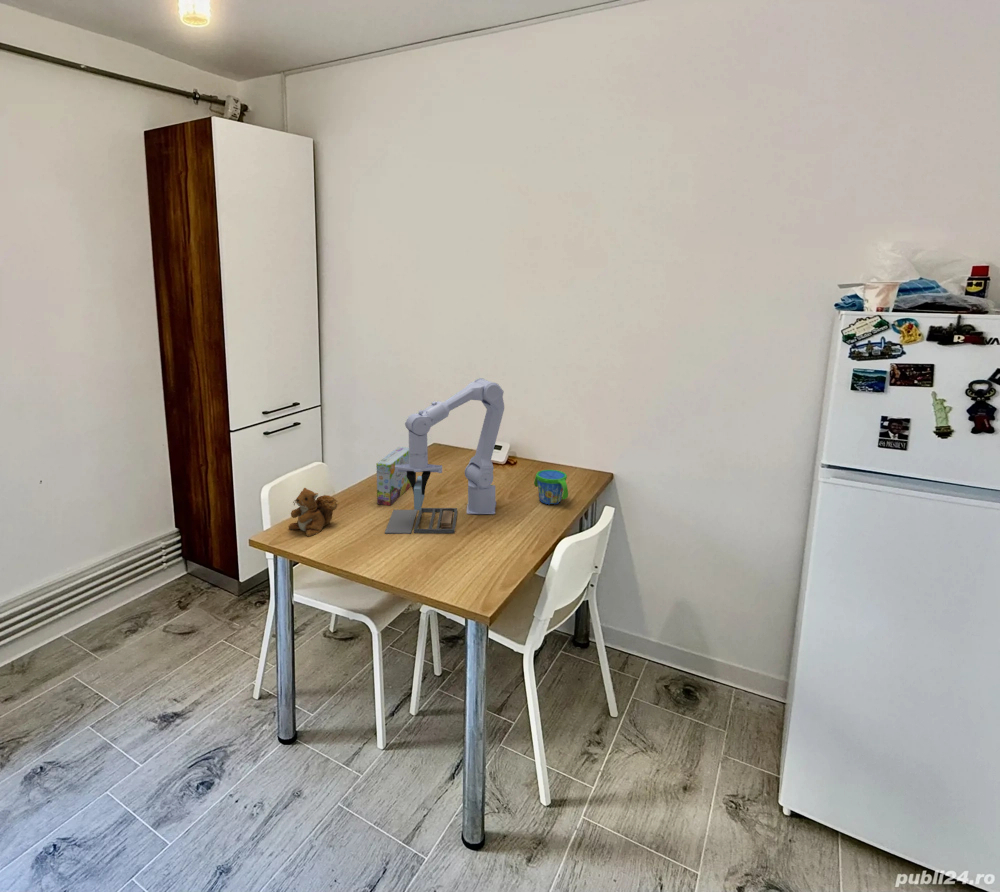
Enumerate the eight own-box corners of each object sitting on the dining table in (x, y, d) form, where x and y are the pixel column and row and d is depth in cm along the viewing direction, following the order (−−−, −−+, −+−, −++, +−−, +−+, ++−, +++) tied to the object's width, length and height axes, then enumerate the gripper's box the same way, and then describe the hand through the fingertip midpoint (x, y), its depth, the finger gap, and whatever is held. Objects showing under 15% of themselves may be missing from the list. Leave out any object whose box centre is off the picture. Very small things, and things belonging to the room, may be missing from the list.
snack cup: (575, 506, 205) (577, 478, 202) (550, 512, 200) (551, 483, 197) (550, 492, 218) (551, 465, 215) (525, 496, 212) (526, 470, 210)
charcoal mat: (417, 510, 199) (417, 509, 199) (410, 533, 181) (410, 532, 181) (393, 510, 199) (393, 509, 198) (384, 533, 181) (384, 532, 181)
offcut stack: (452, 514, 196) (452, 509, 196) (450, 529, 185) (450, 523, 184) (443, 514, 196) (443, 508, 195) (441, 529, 185) (440, 523, 184)
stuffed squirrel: (285, 529, 183) (282, 489, 179) (325, 516, 193) (322, 478, 190) (303, 539, 177) (299, 498, 173) (343, 525, 187) (341, 486, 183)
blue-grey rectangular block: (424, 496, 194) (424, 476, 192) (420, 510, 182) (420, 489, 180) (418, 496, 194) (417, 475, 192) (414, 510, 182) (413, 488, 180)
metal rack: (457, 511, 199) (457, 508, 198) (454, 533, 182) (454, 530, 182) (420, 511, 198) (420, 507, 198) (413, 533, 182) (413, 529, 181)
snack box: (392, 506, 202) (390, 464, 198) (376, 504, 203) (374, 463, 199) (413, 485, 222) (412, 446, 218) (399, 484, 223) (397, 445, 219)
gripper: (392, 456, 179) (394, 498, 183) (440, 456, 180) (441, 498, 184) (396, 449, 186) (397, 490, 190) (442, 449, 187) (442, 490, 190)
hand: (419, 493), depth 187 cm, fingers closed on blue-grey rectangular block, 2 cm apart
